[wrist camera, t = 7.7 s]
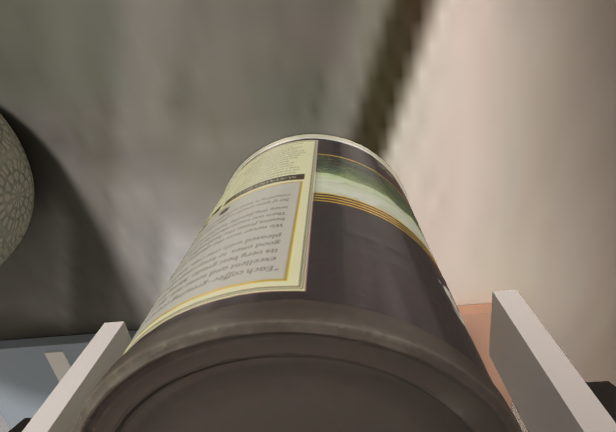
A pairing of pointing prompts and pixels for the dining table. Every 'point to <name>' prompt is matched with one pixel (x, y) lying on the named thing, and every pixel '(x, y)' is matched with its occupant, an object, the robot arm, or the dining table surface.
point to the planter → (13, 191)
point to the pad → (35, 371)
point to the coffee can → (303, 314)
